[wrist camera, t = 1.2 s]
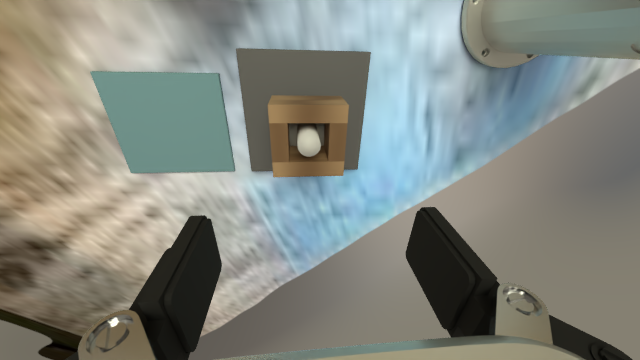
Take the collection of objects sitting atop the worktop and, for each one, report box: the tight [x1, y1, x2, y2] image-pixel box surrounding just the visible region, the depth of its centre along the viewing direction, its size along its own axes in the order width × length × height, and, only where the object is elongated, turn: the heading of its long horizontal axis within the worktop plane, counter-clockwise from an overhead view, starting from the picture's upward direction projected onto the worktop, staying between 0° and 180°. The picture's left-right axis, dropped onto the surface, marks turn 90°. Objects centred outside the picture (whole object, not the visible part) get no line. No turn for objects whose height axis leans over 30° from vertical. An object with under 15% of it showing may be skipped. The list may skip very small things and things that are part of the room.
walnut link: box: [268, 95, 349, 177], centre depth 23 cm, size 7×7×4 cm
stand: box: [236, 48, 371, 171], centre depth 25 cm, size 14×14×11 cm
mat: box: [90, 71, 235, 173], centre depth 29 cm, size 13×12×1 cm
